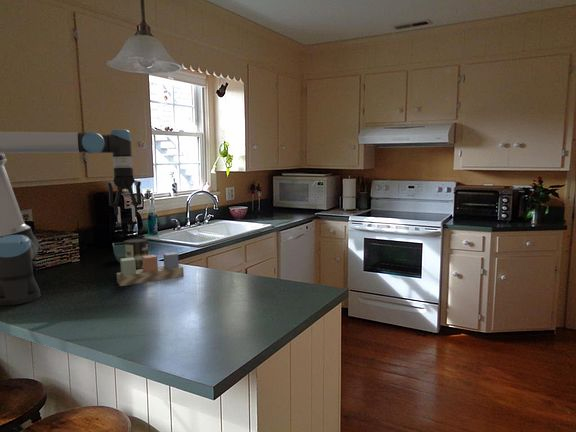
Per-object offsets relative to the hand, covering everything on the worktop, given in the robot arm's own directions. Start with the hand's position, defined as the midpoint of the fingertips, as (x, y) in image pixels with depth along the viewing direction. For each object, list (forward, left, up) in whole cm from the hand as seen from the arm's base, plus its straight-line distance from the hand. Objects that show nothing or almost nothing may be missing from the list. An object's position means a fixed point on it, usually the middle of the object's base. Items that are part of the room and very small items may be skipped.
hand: (126, 221), depth 187 cm
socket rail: (+7, -7, -25) cm, 27 cm away
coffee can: (+6, +13, -25) cm, 29 cm away
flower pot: (+4, +37, -25) cm, 45 cm away
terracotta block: (+7, -7, -22) cm, 24 cm away
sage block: (-2, -7, -22) cm, 23 cm away
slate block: (+16, -7, -22) cm, 28 cm away
